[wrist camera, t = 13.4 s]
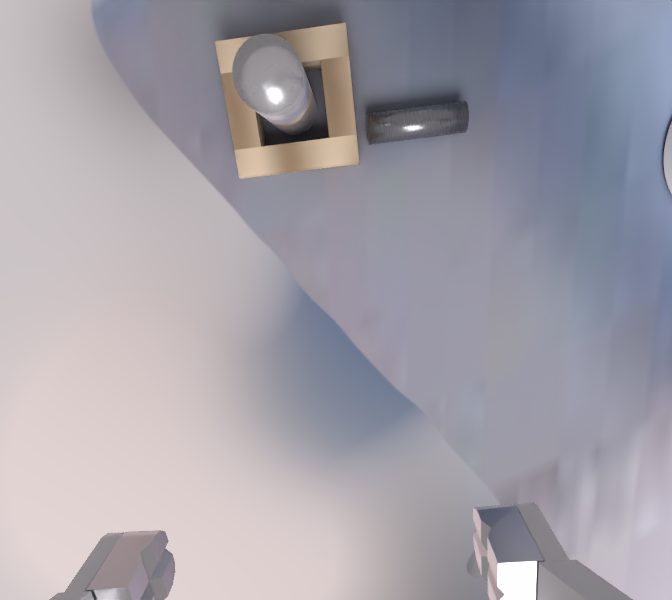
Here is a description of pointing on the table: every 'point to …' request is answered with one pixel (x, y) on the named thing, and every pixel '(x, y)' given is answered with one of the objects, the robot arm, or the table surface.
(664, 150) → the robot arm
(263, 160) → the socket block
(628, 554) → the table surface
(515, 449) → the table surface
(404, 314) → the table surface
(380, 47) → the table surface
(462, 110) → the pin
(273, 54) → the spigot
